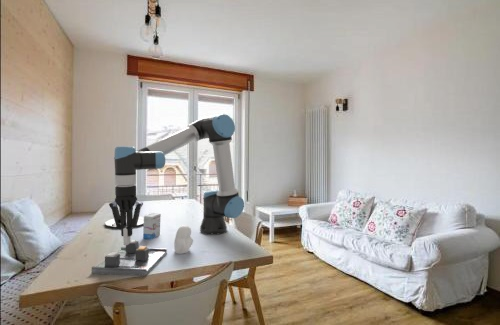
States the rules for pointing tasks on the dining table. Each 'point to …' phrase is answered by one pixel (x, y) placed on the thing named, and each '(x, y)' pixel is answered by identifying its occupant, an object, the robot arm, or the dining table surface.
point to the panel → (132, 263)
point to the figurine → (183, 239)
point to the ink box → (151, 226)
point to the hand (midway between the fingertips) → (127, 243)
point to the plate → (140, 222)
